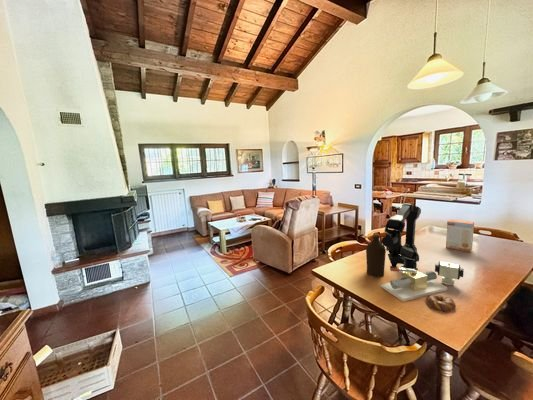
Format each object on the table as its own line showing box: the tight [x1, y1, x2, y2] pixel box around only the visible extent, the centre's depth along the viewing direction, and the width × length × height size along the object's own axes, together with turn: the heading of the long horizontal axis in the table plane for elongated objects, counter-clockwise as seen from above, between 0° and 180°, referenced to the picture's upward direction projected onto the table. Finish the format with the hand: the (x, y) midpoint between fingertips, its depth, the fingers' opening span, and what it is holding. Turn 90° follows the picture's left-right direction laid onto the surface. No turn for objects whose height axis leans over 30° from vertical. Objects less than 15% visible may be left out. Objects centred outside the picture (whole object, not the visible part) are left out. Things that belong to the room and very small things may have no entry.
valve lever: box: [389, 265, 418, 274], centre depth 120 cm, size 12×3×2 cm, turn 67°
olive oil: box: [365, 233, 387, 278], centre depth 135 cm, size 11×11×25 cm
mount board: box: [381, 280, 448, 302], centre depth 120 cm, size 14×28×2 cm, turn 105°
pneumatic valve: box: [434, 261, 464, 286], centre depth 121 cm, size 6×12×12 cm, turn 51°
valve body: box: [389, 269, 438, 291], centre depth 119 cm, size 8×26×7 cm, turn 105°
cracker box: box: [445, 219, 475, 253], centre depth 163 cm, size 14×6×21 cm, turn 38°
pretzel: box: [425, 293, 457, 313], centre depth 105 cm, size 12×11×4 cm
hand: (394, 268), depth 124 cm, fingers closed
